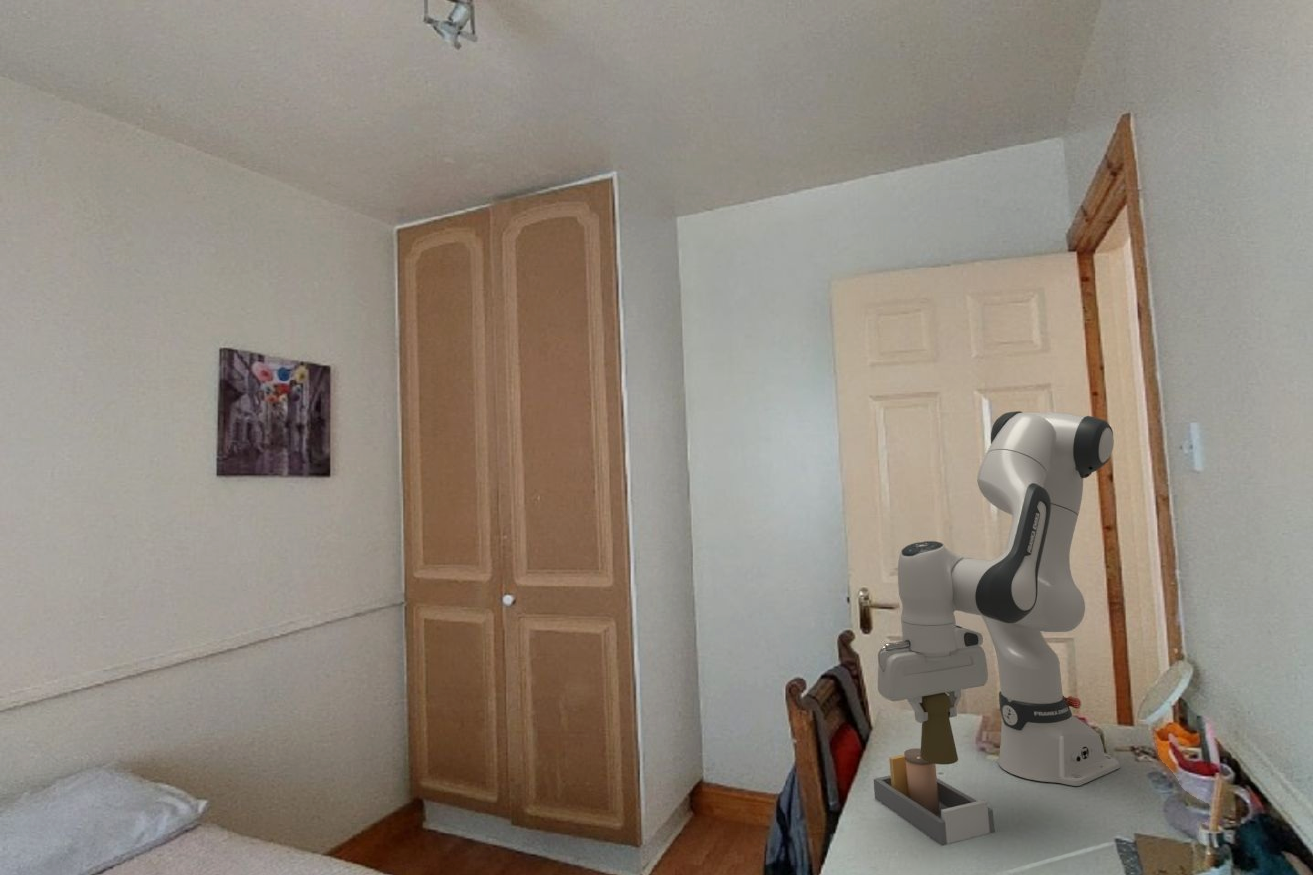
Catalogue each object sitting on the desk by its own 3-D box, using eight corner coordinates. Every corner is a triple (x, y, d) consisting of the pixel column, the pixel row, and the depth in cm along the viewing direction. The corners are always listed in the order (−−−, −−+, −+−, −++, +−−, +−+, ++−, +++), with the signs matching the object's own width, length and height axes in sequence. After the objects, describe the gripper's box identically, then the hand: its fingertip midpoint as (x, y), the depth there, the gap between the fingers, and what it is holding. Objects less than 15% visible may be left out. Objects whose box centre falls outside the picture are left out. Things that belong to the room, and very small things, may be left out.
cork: (962, 764, 114) (956, 697, 115) (923, 764, 115) (918, 697, 116) (953, 750, 120) (948, 686, 121) (917, 749, 121) (912, 686, 122)
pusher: (927, 794, 127) (923, 750, 128) (930, 796, 126) (927, 752, 127) (892, 802, 125) (889, 757, 125) (896, 804, 124) (892, 759, 125)
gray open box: (922, 790, 131) (920, 760, 131) (994, 835, 114) (991, 800, 114) (875, 801, 128) (872, 770, 128) (942, 849, 110) (939, 813, 111)
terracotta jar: (926, 800, 126) (922, 746, 126) (946, 812, 121) (941, 756, 121) (902, 806, 124) (898, 751, 125) (921, 818, 119) (917, 761, 120)
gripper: (888, 648, 113) (895, 734, 112) (990, 633, 119) (997, 715, 118) (866, 640, 119) (873, 722, 118) (964, 626, 125) (971, 704, 124)
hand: (936, 718), depth 118 cm, fingers closed on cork, 4 cm apart
